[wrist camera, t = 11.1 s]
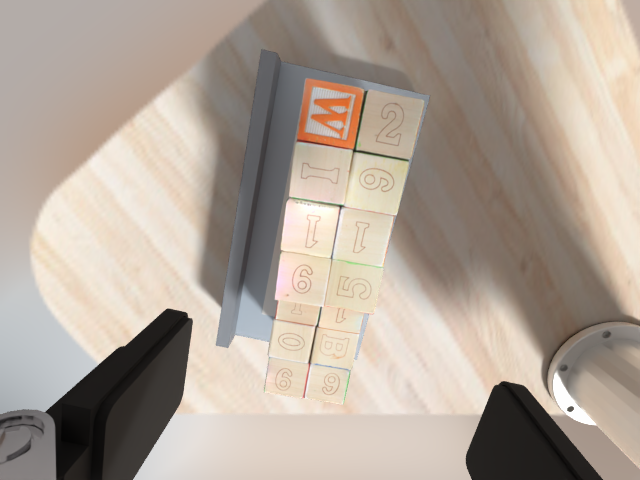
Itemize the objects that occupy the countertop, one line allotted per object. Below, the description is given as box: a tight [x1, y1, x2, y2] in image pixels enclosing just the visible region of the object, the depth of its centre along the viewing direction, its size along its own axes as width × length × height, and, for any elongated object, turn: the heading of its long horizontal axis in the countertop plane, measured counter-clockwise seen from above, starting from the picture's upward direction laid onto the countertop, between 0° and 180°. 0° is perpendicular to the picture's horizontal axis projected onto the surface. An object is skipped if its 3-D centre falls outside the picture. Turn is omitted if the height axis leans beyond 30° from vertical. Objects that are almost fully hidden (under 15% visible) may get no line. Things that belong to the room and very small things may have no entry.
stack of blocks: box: [264, 78, 424, 405], centre depth 25 cm, size 21×6×12 cm, turn 170°
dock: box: [216, 49, 430, 360], centre depth 31 cm, size 14×26×5 cm, turn 168°
